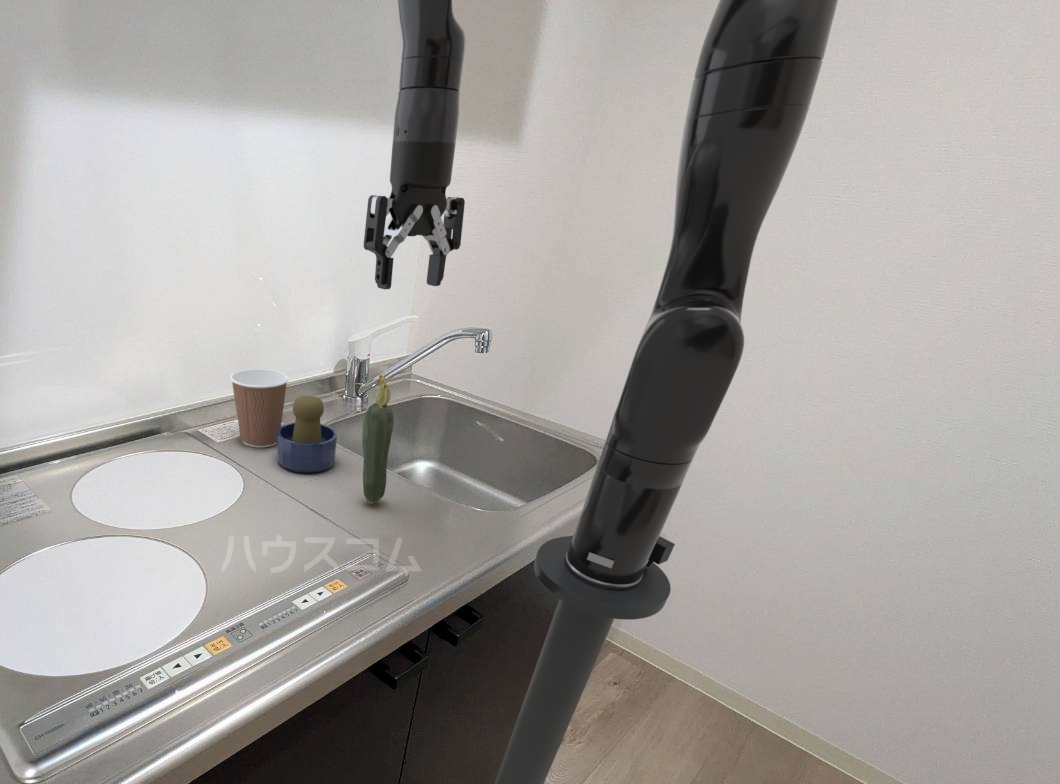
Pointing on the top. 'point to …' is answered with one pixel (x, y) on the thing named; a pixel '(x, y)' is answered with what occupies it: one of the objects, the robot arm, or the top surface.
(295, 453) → the bowl
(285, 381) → the coffee cup
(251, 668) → the top surface
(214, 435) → the top surface
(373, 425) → the vegetable
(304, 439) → the cork
